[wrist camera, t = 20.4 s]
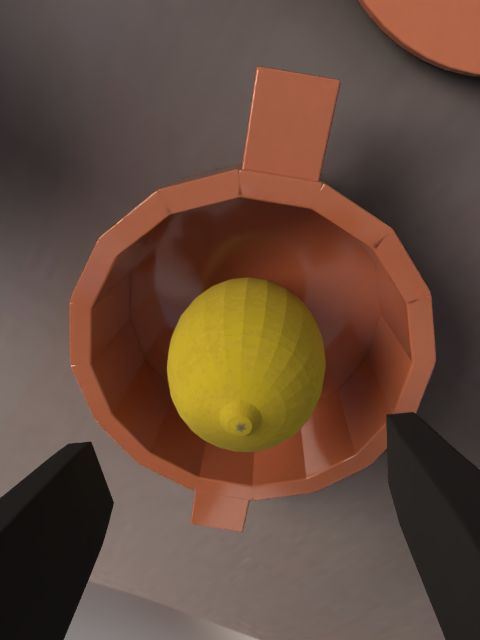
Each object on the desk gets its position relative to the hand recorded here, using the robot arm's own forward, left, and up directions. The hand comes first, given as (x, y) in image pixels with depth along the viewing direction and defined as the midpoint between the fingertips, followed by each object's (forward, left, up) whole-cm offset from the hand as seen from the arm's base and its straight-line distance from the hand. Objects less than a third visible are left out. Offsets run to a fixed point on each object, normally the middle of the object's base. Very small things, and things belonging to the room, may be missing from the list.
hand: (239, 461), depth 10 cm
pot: (0, 0, -10) cm, 10 cm away
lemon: (0, 0, -10) cm, 10 cm away
